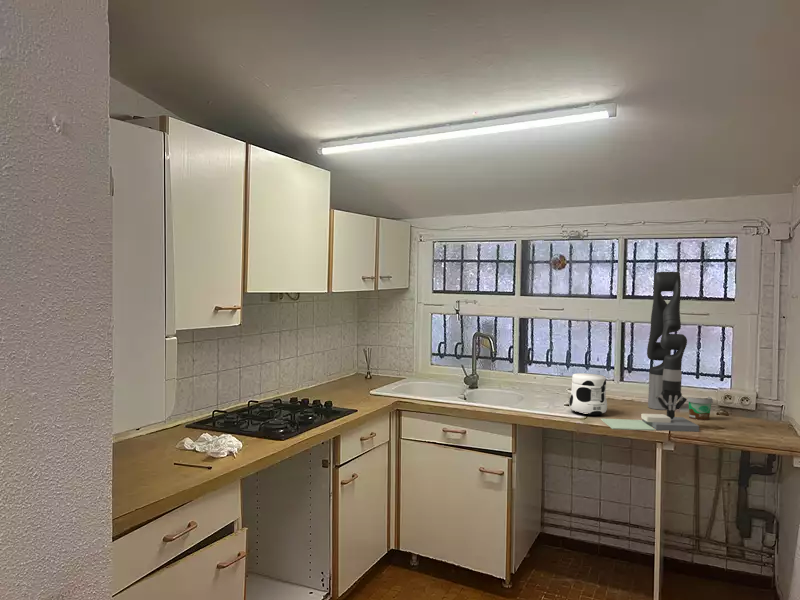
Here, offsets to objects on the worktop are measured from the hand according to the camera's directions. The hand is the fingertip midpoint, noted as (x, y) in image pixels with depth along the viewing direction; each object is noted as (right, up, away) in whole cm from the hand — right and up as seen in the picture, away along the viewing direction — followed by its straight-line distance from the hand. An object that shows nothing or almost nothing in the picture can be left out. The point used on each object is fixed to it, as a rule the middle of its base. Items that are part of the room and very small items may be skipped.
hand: (670, 418), depth 261 cm
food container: (+22, -4, +16) cm, 28 cm away
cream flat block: (-6, 0, 0) cm, 6 cm away
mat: (-19, -3, +1) cm, 19 cm away
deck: (0, -4, 0) cm, 4 cm away
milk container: (-29, -2, +22) cm, 37 cm away
